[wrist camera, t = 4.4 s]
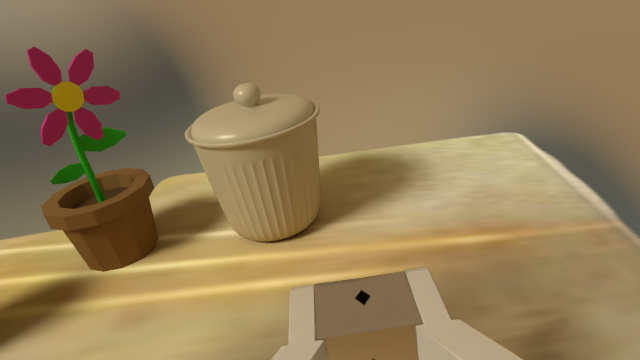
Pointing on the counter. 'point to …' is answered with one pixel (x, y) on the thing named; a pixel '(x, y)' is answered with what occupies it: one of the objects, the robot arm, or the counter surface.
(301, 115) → the canister
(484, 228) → the counter surface
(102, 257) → the flowerpot
